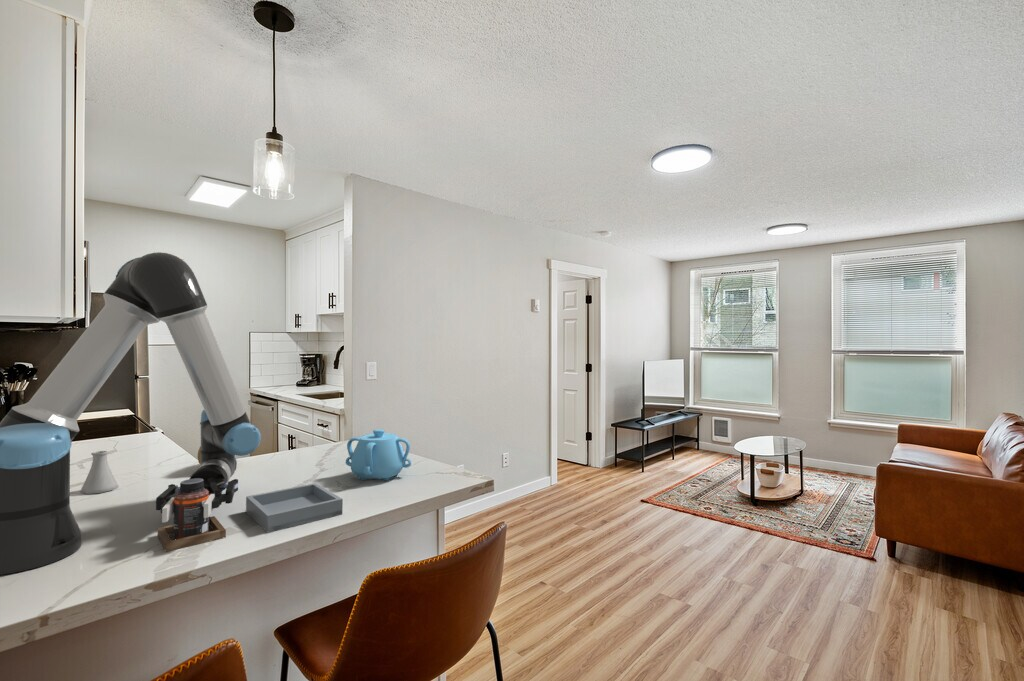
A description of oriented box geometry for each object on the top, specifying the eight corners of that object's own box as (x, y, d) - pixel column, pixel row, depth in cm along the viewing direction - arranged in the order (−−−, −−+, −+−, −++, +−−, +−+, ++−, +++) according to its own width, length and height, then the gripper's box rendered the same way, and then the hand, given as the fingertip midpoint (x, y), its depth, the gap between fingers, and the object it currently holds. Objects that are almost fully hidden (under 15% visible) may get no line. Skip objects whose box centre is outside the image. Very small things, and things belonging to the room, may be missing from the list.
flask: (124, 486, 129) (125, 449, 129) (99, 495, 122) (99, 455, 122) (100, 485, 129) (100, 448, 129) (73, 494, 122) (73, 454, 122)
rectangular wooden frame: (165, 551, 91) (165, 543, 91) (157, 535, 98) (157, 528, 98) (225, 537, 98) (225, 529, 98) (214, 522, 105) (214, 516, 105)
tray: (267, 532, 100) (267, 515, 100) (246, 511, 112) (246, 496, 112) (342, 514, 111) (342, 499, 111) (315, 496, 123) (315, 483, 123)
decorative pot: (342, 473, 144) (342, 428, 144) (393, 465, 154) (393, 422, 154) (359, 487, 131) (360, 437, 131) (415, 478, 140) (415, 431, 140)
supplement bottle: (214, 534, 99) (215, 479, 99) (183, 545, 94) (183, 487, 94) (199, 528, 102) (200, 474, 102) (167, 538, 97) (168, 482, 97)
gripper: (255, 491, 118) (241, 525, 97) (161, 499, 111) (124, 539, 90) (255, 460, 118) (241, 488, 97) (162, 467, 111) (125, 499, 90)
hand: (185, 512), depth 93 cm, fingers open, 6 cm apart
